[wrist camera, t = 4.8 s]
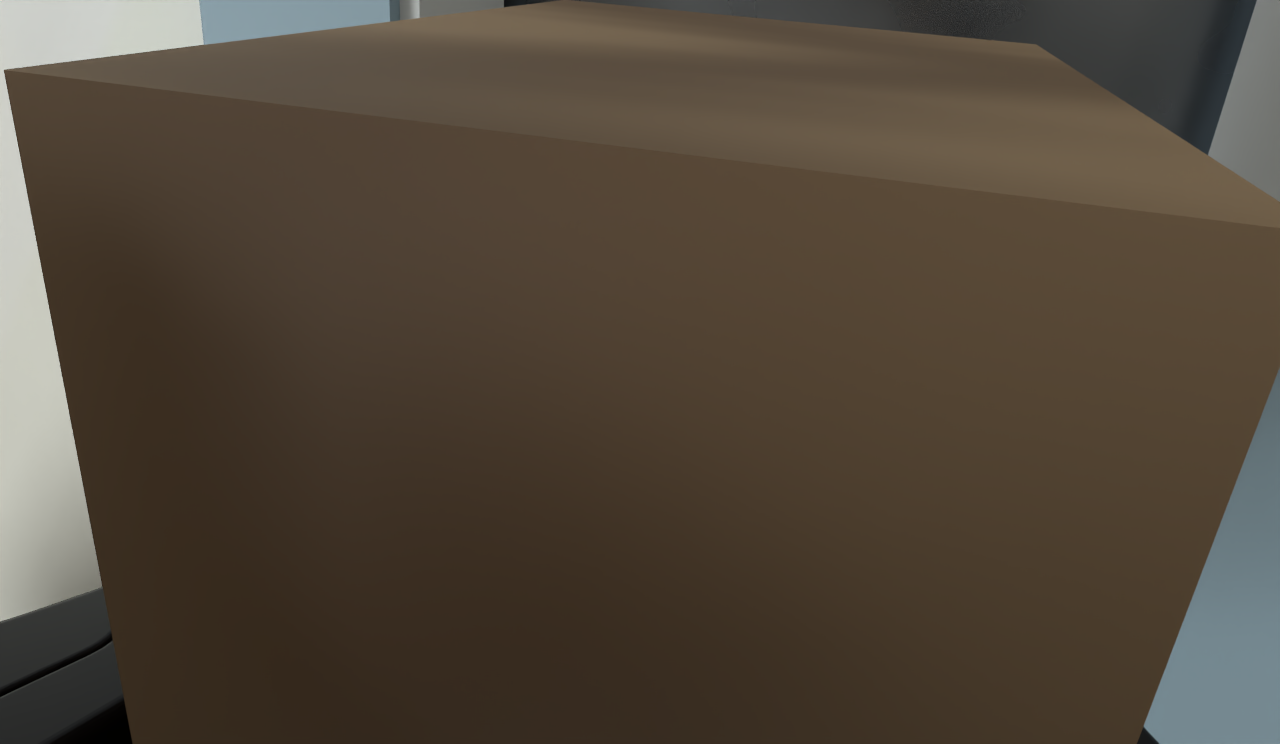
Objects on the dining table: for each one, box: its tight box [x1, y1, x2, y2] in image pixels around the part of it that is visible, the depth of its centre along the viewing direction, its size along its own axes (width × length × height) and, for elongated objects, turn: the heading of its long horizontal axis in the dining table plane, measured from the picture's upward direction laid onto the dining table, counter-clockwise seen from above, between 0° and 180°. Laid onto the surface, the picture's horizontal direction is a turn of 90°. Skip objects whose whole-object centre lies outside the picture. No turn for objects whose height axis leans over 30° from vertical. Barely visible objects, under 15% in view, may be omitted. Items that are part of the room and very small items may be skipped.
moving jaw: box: [199, 0, 504, 45], centre depth 17 cm, size 14×3×4 cm, turn 176°
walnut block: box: [4, 0, 1280, 744], centre depth 7 cm, size 4×9×6 cm, turn 176°
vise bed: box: [504, 0, 1257, 155], centre depth 18 cm, size 16×20×1 cm
